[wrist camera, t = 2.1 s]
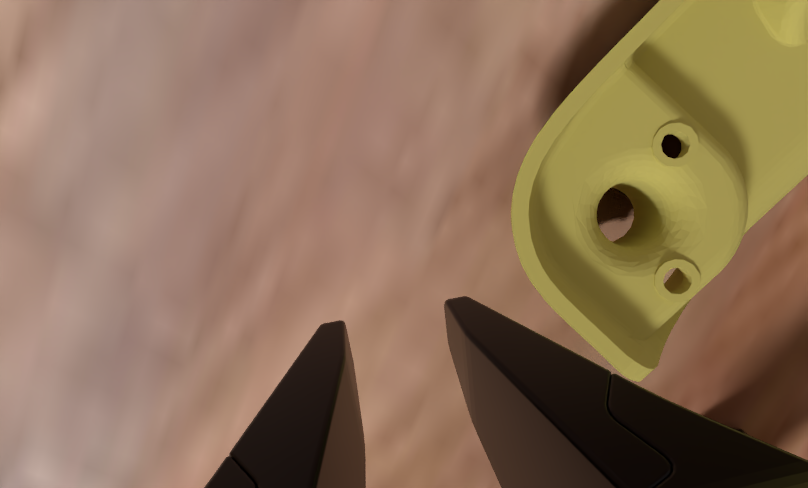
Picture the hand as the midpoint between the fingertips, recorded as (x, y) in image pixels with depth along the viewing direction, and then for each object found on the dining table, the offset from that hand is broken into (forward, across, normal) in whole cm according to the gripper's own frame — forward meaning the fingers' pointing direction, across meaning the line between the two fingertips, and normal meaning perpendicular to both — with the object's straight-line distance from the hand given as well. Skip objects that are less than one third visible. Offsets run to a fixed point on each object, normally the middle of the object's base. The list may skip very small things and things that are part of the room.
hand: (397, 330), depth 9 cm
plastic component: (+12, -14, 0) cm, 19 cm away
